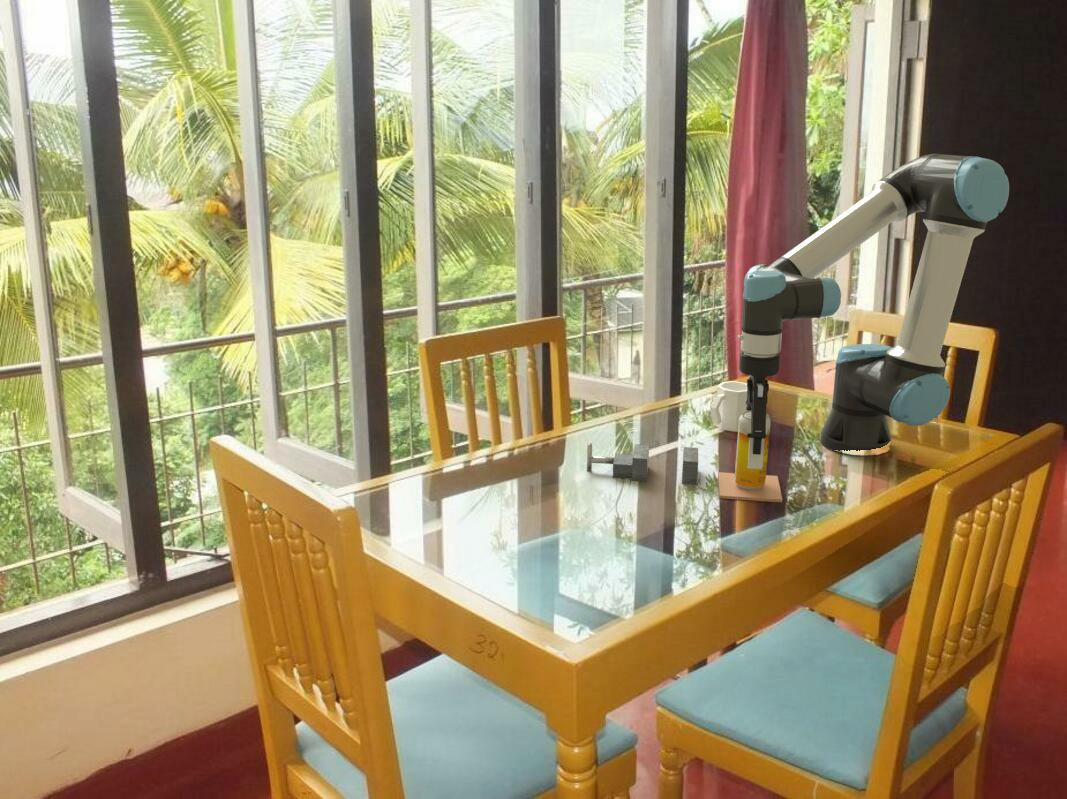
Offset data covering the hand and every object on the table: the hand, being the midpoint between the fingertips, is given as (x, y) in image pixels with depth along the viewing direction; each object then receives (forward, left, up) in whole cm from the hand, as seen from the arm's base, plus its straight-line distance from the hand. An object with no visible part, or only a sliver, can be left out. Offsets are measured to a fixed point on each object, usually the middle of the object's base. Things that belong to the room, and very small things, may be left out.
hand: (752, 455), depth 188 cm
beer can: (0, 0, -7) cm, 7 cm away
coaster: (0, 0, -7) cm, 7 cm away
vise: (+22, -4, -7) cm, 23 cm away
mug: (+3, -36, -7) cm, 37 cm away
